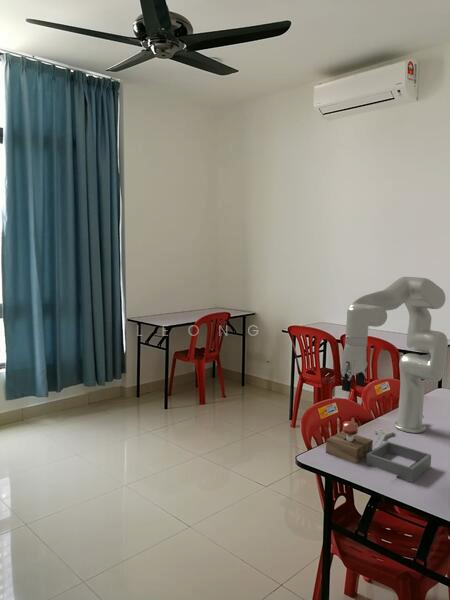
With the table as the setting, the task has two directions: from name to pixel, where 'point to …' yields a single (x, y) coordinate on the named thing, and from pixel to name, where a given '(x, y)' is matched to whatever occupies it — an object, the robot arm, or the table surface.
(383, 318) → the robot arm
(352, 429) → the red knob with stem
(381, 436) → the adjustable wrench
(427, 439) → the table surface
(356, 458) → the eye block
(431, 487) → the table surface
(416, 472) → the tray
